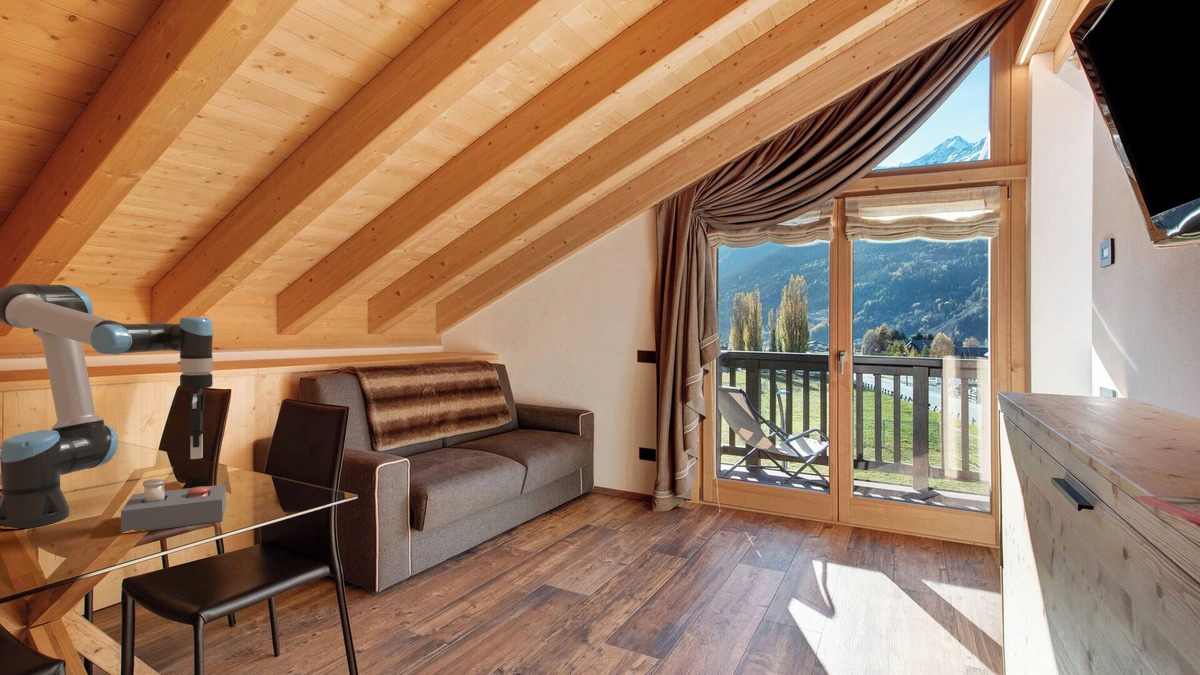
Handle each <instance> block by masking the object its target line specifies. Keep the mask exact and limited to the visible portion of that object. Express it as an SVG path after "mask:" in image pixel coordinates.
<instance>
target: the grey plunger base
mask: <svg viewBox="0 0 1200 675" xmlns="http://www.w3.org/2000/svg"><path fill="white" fill-rule="evenodd" d="M206 487H209V491H208V496H203V497H194V498H189V494H188V489H191V488H188V489H182V488H181V489H171V490H164V492H165V501H158V502H149V503H145V498H144V492H143V493H133V494H132V495H131V496H130V497H129V499H128V500H127V502H126V503H125V504H124V506H123V508H122V509H121V510H120V533H123V532H126V531H130V530H135V531H137V532H136V533H140V532H139V531H142V530H149V531H148V532H150V531H157V530H158V531H159V530H165V529H166V530H167V529H172V528H182V527H187V526H195V525H196V526H197V525H204V524H205V525H206V524H211V523H220V522H223V520H224V516H225V510H226V505H227V499H226V496H227V495H226V494H227V493H226V492H227V489H226V484H217V485H209V486H206Z"/></svg>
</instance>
